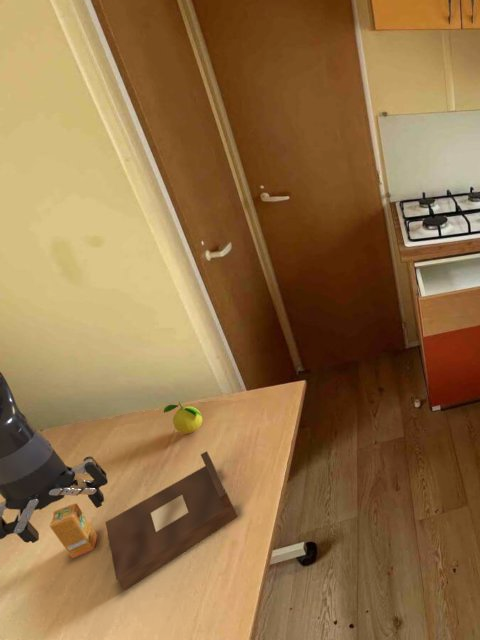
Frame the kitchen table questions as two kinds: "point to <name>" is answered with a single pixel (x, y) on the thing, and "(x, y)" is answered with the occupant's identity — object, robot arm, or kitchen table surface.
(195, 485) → the shelf
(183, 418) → the lemon
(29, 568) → the kitchen table surface
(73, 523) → the supplement box
